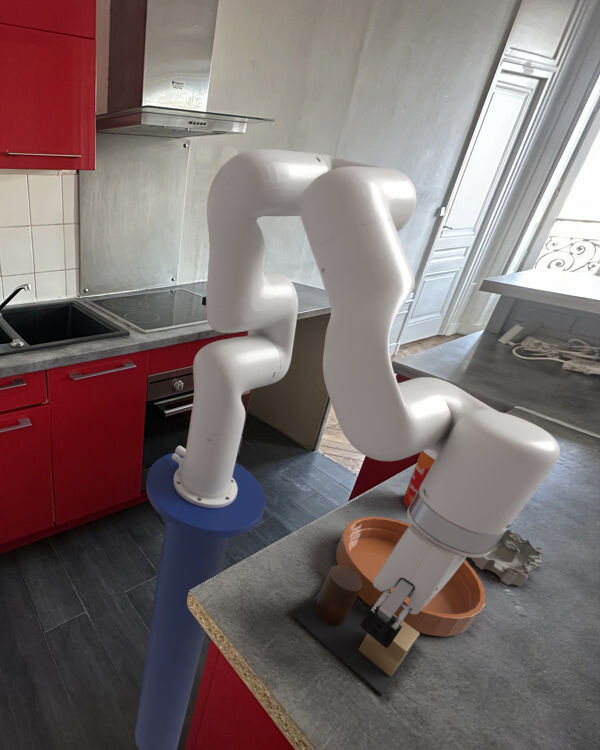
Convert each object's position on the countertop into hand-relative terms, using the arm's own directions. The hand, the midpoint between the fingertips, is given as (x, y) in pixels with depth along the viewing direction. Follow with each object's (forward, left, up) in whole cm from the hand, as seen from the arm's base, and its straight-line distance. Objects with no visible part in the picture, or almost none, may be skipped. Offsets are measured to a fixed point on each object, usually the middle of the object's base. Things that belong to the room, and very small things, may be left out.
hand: (392, 614), depth 52 cm
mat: (-3, 0, -7) cm, 8 cm away
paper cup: (-8, +37, -8) cm, 38 cm away
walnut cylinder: (-6, 0, -7) cm, 9 cm away
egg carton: (+5, +34, -8) cm, 35 cm away
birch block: (+1, 0, -7) cm, 7 cm away
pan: (-3, +15, -7) cm, 17 cm away
